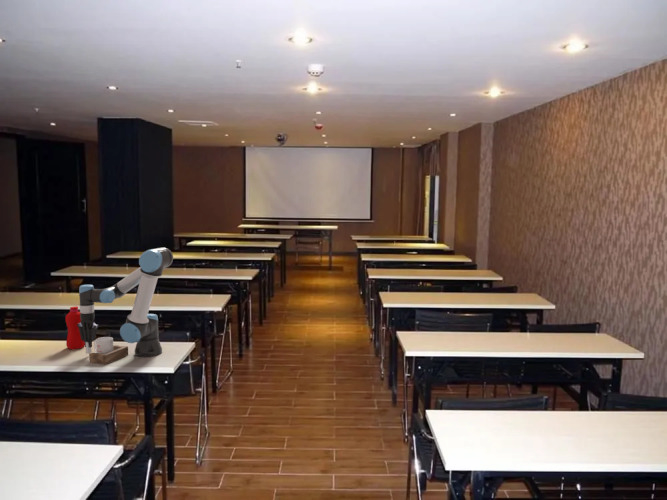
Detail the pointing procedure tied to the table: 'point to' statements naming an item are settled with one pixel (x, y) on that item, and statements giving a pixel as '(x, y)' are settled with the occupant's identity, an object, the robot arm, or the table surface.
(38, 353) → the table surface
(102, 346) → the mug
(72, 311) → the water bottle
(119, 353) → the dock
